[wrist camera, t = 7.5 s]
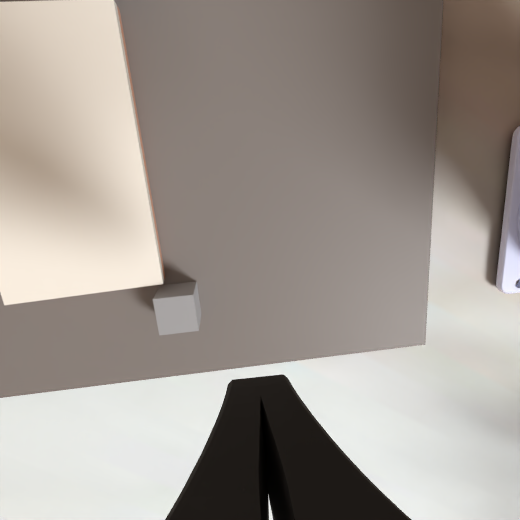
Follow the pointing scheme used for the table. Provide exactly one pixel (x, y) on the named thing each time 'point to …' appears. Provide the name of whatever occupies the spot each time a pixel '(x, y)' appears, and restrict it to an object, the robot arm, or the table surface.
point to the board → (261, 194)
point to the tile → (71, 156)
